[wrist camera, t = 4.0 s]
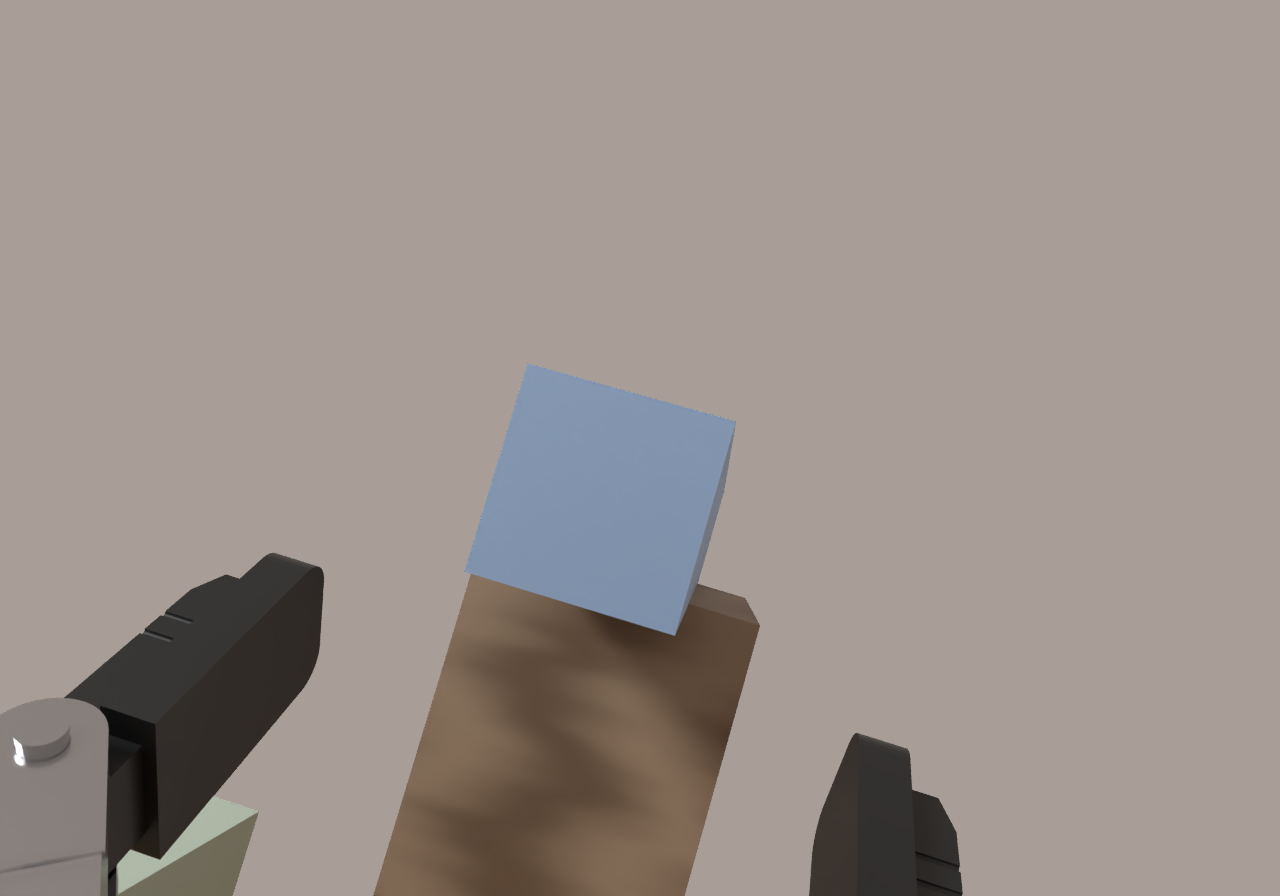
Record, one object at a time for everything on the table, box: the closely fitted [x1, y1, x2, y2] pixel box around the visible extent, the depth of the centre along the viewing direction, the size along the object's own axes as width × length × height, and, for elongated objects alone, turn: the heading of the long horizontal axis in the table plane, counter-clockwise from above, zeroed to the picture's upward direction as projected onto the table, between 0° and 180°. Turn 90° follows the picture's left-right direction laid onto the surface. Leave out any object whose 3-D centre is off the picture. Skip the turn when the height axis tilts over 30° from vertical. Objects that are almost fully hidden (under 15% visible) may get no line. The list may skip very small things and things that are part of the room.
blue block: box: [465, 364, 736, 636], centre depth 29 cm, size 4×24×4 cm, turn 175°
